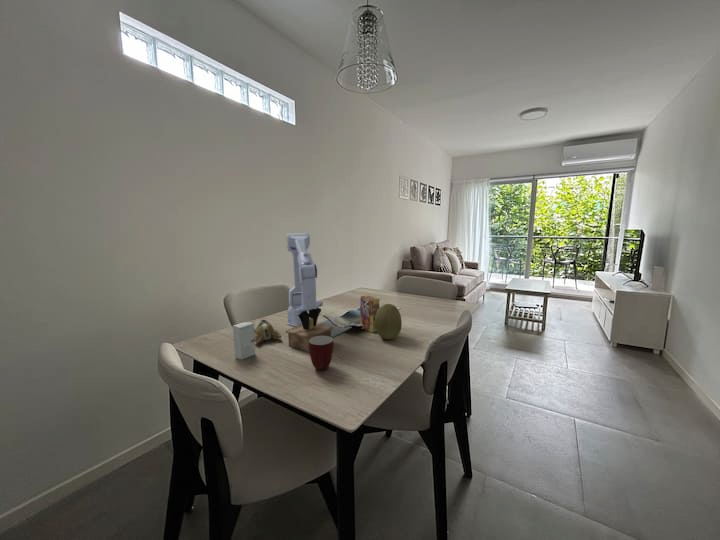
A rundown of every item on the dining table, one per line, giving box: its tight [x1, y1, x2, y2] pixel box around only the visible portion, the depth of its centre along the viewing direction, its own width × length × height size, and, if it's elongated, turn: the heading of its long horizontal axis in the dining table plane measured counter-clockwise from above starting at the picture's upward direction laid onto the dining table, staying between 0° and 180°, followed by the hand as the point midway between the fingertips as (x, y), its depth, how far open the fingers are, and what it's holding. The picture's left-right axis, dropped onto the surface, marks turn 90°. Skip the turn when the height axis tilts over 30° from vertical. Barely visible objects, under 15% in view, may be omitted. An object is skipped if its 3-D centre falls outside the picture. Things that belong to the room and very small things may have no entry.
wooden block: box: [285, 318, 333, 339], centre depth 117 cm, size 13×13×5 cm
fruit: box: [375, 303, 403, 340], centre depth 122 cm, size 11×11×15 cm
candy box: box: [360, 294, 380, 334], centre depth 133 cm, size 9×4×15 cm, turn 39°
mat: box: [318, 319, 353, 339], centre depth 135 cm, size 16×16×1 cm
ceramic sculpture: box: [253, 317, 282, 344], centre depth 123 cm, size 11×9×15 cm
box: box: [287, 330, 332, 353], centre depth 118 cm, size 12×12×6 cm
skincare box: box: [232, 321, 256, 361], centre depth 106 cm, size 6×4×12 cm
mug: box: [308, 336, 334, 372], centre depth 96 cm, size 10×8×10 cm
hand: (309, 327), depth 117 cm, fingers open, 4 cm apart
